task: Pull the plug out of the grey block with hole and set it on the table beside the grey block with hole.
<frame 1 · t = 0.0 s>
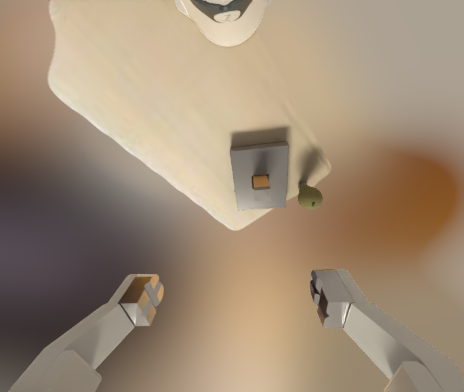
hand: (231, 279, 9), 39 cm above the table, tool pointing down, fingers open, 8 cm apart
plug: (259, 177, 48), resting on grey block with hole
light bulb: (301, 184, 49), on the table
grey block with hole: (259, 176, 48), on the table
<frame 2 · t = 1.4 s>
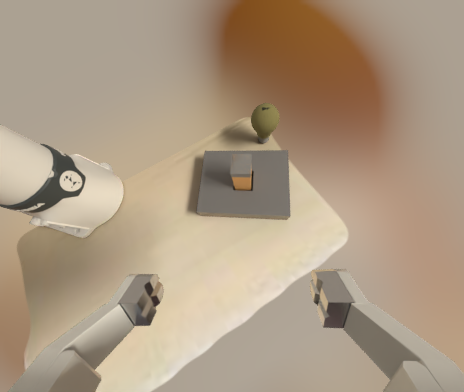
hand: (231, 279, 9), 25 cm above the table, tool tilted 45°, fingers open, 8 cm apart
plug: (244, 185, 37), resting on grey block with hole
light bulb: (263, 141, 41), on the table
grey block with hole: (244, 186, 38), on the table
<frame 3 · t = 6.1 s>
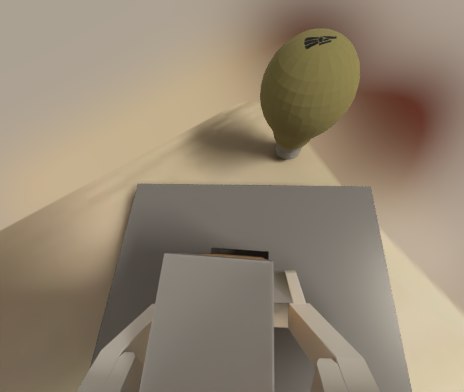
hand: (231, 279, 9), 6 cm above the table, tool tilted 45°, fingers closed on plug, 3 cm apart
plug: (241, 278, 14), resting on grey block with hole, touching gripper
light bulb: (285, 154, 18), on the table
grey block with hole: (241, 277, 14), on the table
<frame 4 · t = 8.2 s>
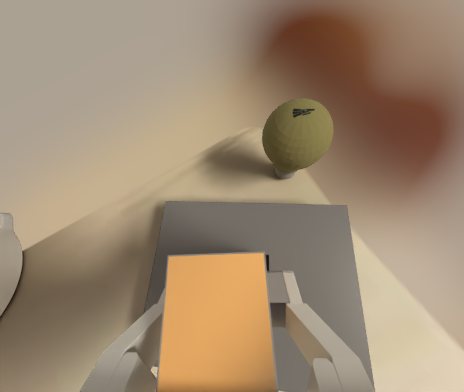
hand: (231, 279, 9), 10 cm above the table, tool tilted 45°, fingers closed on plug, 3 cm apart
plug: (241, 277, 14), point 4 cm above the table, touching gripper
light bulb: (283, 173, 21), on the table
grey block with hole: (248, 275, 18), on the table
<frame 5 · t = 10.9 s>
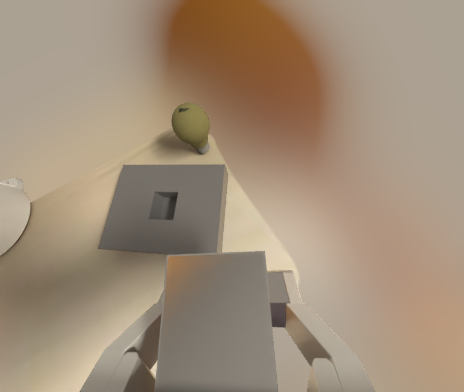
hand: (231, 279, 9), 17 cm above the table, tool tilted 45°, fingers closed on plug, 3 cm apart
plug: (241, 277, 14), point 11 cm above the table, touching gripper
light bulb: (204, 151, 33), on the table
grey block with hole: (173, 210, 29), on the table
when the fingers open (7 cm above the table, at t = 13.3 s): plug stays where it is, on the table.
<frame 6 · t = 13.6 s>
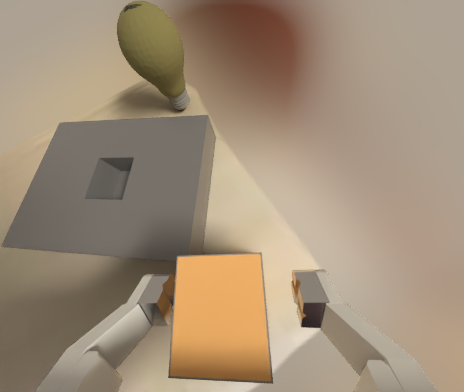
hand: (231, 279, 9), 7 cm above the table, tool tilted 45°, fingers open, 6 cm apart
plug: (242, 276, 15), on the table
light bulb: (183, 108, 23), on the table
grey block with hole: (134, 190, 20), on the table
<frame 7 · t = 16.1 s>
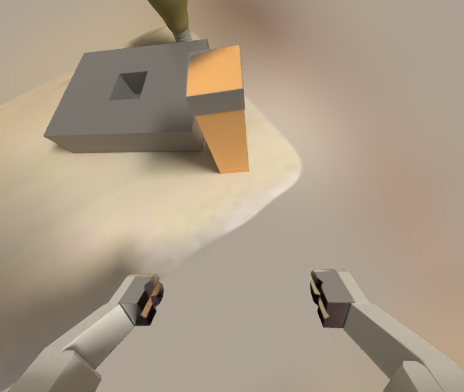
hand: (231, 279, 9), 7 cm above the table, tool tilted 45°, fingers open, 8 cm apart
plug: (233, 158, 19), on the table
light bulb: (186, 49, 27), on the table
grey block with hole: (146, 108, 24), on the table
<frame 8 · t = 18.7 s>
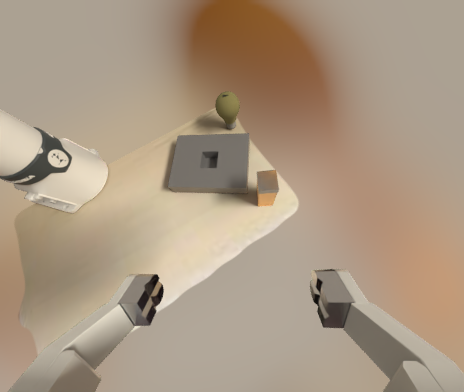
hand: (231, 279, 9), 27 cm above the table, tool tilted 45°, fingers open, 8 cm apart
plug: (264, 198, 38), on the table
light bulb: (231, 127, 46), on the table
grey block with hole: (212, 166, 43), on the table
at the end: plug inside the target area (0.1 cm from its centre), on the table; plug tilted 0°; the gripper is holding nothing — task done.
